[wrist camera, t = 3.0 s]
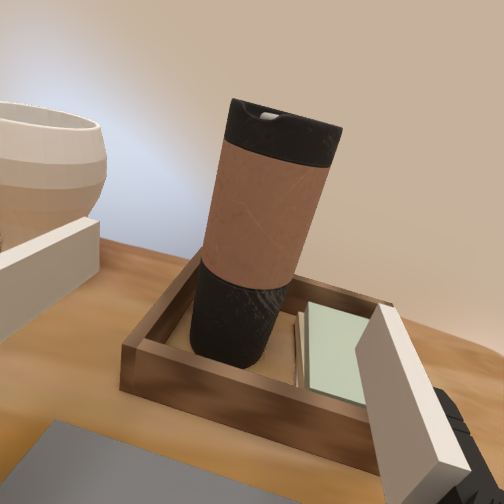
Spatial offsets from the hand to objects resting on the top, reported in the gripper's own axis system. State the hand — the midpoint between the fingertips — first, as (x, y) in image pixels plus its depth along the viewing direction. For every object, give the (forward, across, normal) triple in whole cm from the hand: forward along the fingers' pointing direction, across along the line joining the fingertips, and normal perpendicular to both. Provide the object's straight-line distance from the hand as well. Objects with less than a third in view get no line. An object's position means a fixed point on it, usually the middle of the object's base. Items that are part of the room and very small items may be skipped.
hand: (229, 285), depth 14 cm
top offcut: (+10, +10, -11) cm, 18 cm away
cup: (+12, -20, -12) cm, 27 cm away
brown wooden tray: (+10, +5, -12) cm, 17 cm away
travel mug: (+10, 0, -13) cm, 16 cm away
